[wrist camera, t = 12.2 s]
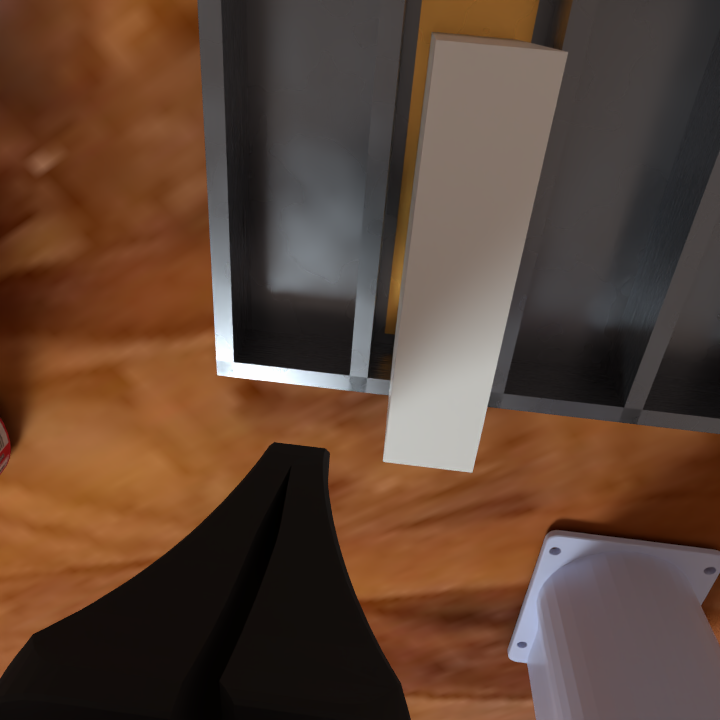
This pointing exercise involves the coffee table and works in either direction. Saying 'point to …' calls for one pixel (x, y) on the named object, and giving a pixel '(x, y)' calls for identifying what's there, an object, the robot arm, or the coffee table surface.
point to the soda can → (4, 447)
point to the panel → (465, 238)
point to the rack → (395, 183)
